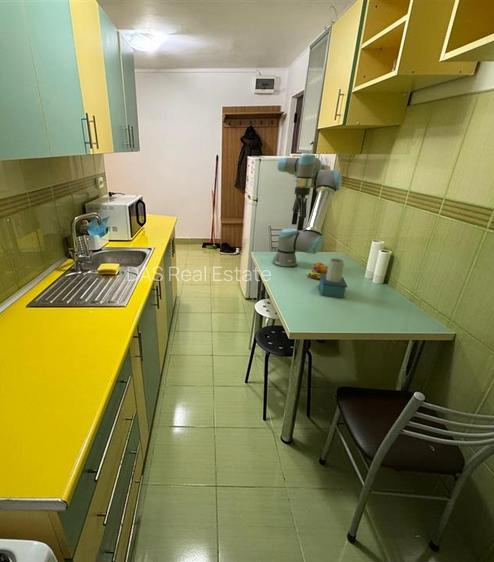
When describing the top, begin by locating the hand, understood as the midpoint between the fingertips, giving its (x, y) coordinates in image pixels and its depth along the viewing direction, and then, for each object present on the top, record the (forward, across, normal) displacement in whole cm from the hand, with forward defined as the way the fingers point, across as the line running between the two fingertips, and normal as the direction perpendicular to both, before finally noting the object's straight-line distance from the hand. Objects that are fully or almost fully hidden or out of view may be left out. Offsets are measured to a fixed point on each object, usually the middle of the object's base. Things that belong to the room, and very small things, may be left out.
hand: (296, 227), depth 164 cm
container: (+32, +13, +20) cm, 40 cm away
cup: (+25, +13, +20) cm, 34 cm away
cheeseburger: (+32, -8, +19) cm, 38 cm away
